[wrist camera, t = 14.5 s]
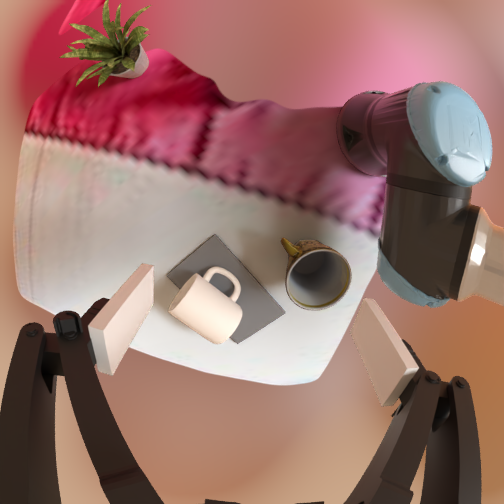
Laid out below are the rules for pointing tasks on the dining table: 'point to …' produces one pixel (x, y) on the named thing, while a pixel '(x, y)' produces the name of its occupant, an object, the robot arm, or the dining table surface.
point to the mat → (230, 286)
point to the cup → (208, 306)
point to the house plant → (113, 48)
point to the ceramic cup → (315, 274)
